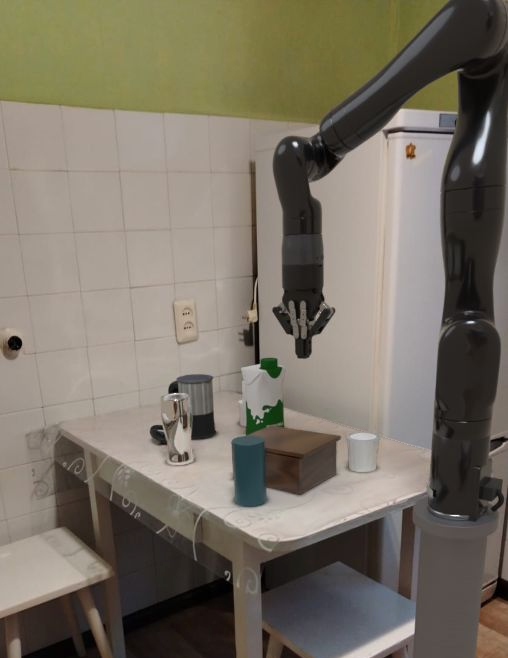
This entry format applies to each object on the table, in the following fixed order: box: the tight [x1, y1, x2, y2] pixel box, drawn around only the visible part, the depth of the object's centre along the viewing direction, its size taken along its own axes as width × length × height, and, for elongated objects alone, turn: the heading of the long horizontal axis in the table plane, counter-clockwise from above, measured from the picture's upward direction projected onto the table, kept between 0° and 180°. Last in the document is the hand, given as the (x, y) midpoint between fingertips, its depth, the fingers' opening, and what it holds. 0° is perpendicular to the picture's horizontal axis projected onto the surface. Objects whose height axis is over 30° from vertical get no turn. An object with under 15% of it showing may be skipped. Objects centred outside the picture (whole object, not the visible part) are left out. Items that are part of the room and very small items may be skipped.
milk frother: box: [149, 373, 217, 444], centre depth 160 cm, size 14×16×15 cm
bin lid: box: [230, 426, 342, 458], centre depth 130 cm, size 18×14×1 cm
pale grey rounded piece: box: [238, 380, 246, 428], centre depth 171 cm, size 9×9×12 cm
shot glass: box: [346, 431, 381, 473], centre depth 135 cm, size 7×7×7 cm
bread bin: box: [231, 442, 337, 496], centre depth 132 cm, size 17×14×7 cm
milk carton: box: [240, 357, 287, 436], centre depth 155 cm, size 9×9×20 cm
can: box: [231, 435, 268, 508], centre depth 120 cm, size 6×6×12 cm
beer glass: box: [159, 393, 195, 466], centre depth 143 cm, size 7×7×15 cm
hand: (303, 357), depth 121 cm, fingers closed
